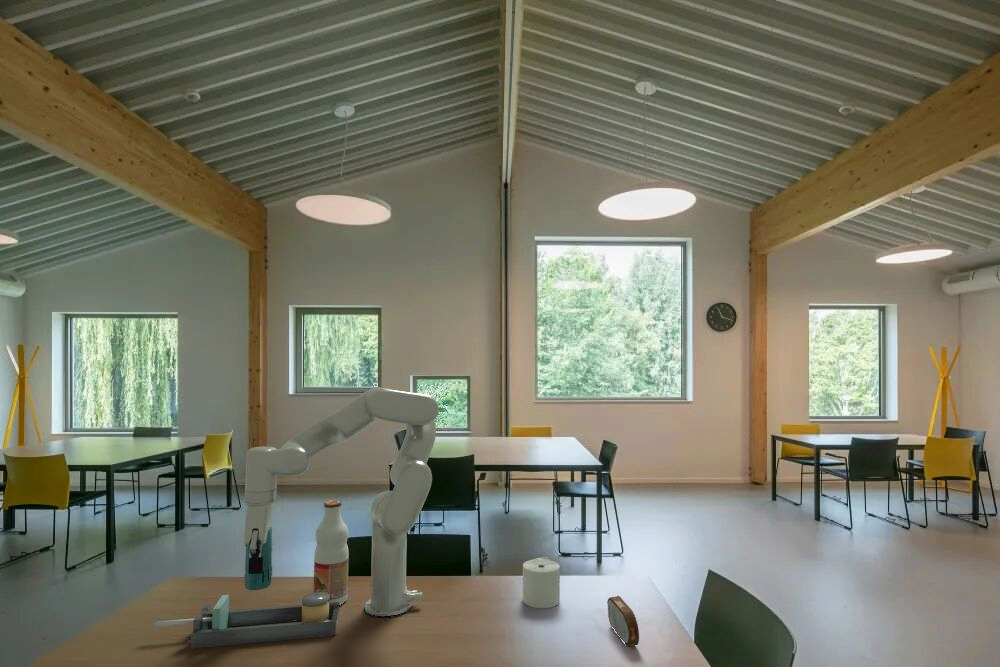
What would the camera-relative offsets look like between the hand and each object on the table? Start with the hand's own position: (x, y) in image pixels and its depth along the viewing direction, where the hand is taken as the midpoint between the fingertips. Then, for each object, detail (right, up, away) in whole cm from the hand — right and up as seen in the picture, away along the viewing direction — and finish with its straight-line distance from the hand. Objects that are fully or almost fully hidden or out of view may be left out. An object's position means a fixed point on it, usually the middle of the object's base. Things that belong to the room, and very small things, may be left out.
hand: (258, 568), depth 142 cm
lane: (+2, -16, 0) cm, 16 cm away
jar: (+14, -16, +2) cm, 21 cm away
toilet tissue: (+73, -18, +20) cm, 77 cm away
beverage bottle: (0, -6, 0) cm, 6 cm away
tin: (+92, -17, -2) cm, 93 cm away
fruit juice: (+13, -17, +17) cm, 28 cm away
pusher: (-15, -15, -4) cm, 22 cm away
